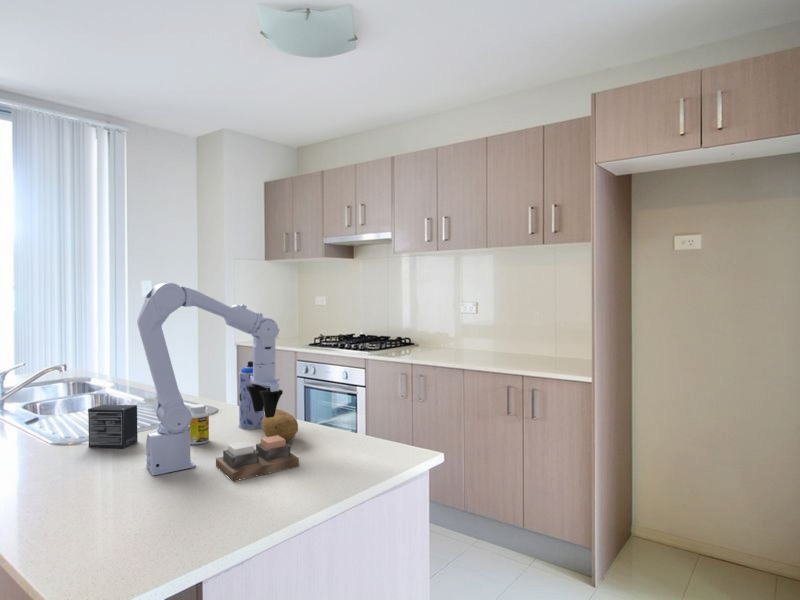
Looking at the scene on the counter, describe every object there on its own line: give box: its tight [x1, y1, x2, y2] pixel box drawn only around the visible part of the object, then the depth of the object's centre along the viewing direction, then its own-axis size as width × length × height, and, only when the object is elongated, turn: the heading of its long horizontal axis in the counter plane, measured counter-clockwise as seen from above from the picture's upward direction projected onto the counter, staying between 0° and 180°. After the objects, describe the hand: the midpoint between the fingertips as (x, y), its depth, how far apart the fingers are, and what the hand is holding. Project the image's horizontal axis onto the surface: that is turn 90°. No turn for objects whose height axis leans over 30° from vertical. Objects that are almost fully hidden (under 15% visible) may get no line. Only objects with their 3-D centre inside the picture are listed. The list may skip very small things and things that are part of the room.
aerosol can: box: [238, 360, 265, 430], centre depth 156 cm, size 8×8×20 cm
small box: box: [87, 404, 138, 449], centre depth 138 cm, size 11×6×10 cm, turn 84°
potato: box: [261, 408, 299, 442], centre depth 142 cm, size 10×14×8 cm
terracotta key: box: [260, 435, 287, 450], centre depth 124 cm, size 4×4×2 cm
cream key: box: [227, 440, 255, 457], centre depth 119 cm, size 4×4×2 cm
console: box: [215, 442, 300, 482], centre depth 121 cm, size 16×12×4 cm
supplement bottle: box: [189, 403, 210, 445], centre depth 140 cm, size 6×6×10 cm
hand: (264, 414), depth 134 cm, fingers open, 7 cm apart
